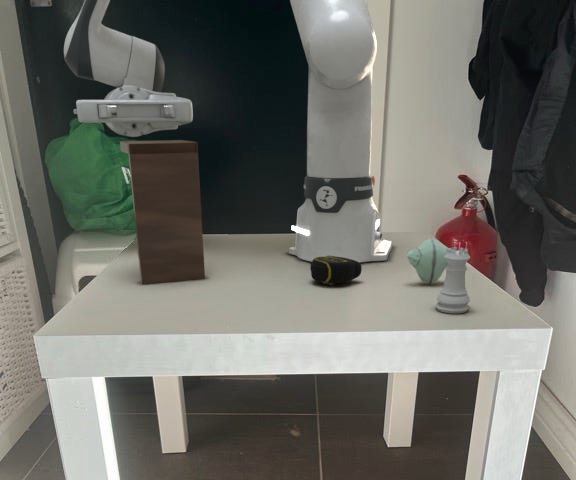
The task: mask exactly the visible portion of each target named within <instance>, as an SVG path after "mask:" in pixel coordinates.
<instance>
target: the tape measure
mask: <svg viewBox="0 0 576 480" xmlns="http://www.w3.org/2000/svg"><path fill="white" fill-rule="evenodd" d="M309 267H310V269H309V270H310V275H311V278H312V279H313V280H314V281H316V282H320V283H322V284H324V285H329V286H334V285H335V284H344V283H345V284H346V283H349V282H351V281H352V280H354V279H357V278H359V277H360V276H361V274H362V264H361V262H360V263H359V262H357V261H355V260H352V259H348V258H343V257H335V256H323V257H316V258H314V259H313V260H312V262H311V261H310V266H309Z"/></svg>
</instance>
